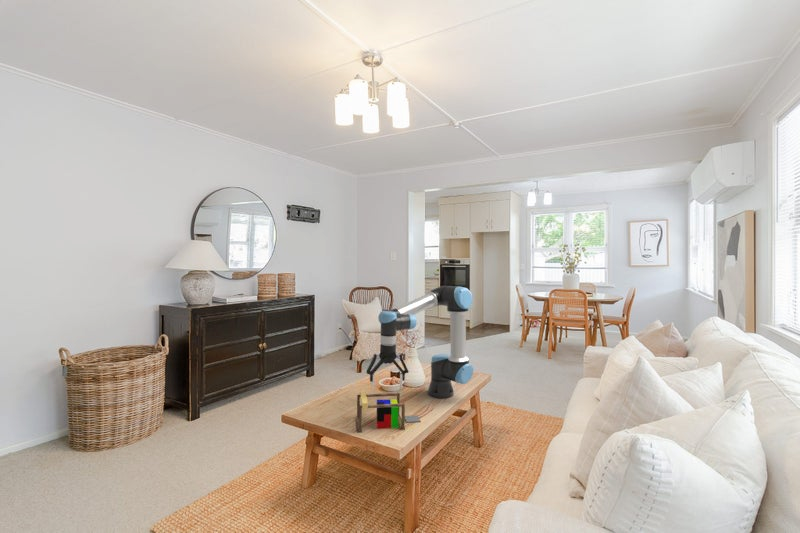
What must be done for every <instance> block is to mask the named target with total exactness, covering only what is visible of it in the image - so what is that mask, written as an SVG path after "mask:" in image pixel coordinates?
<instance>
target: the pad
mask: <svg viewBox="0 0 800 533" xmlns="http://www.w3.org/2000/svg"><path fill="white" fill-rule="evenodd" d="M404 421H405V423H406V424H407V423H408V424H409V423H410V424H411V423H412V424H414V423H421V422H422V421H421V419H420V417H419V415H417V414H414V415H405V417H404Z"/></svg>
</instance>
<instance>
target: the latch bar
mask: <svg viewBox="0 0 800 533" xmlns="http://www.w3.org/2000/svg"><path fill="white" fill-rule="evenodd" d="M366 394H367V393H366V389H363V390H362V389H360V390H359V395H360V396H361V397H360V401H361V402H360V403H361V405H362V411H363V410H368V409H369V408H368V405H369V403H368V397H366Z"/></svg>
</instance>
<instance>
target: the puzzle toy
mask: <svg viewBox="0 0 800 533" xmlns="http://www.w3.org/2000/svg"><path fill="white" fill-rule="evenodd" d="M381 404H398V402H397V398H395V399H393V398H392V399H391V398H389V399H388V398H387V399H376V405H381ZM398 408H399V409H400V407H384V408H376V429H398V428H399V423H398Z"/></svg>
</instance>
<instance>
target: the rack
mask: <svg viewBox="0 0 800 533" xmlns="http://www.w3.org/2000/svg"><path fill="white" fill-rule="evenodd" d="M400 394H401V393H400V392H391V393H390V392H389V393H388V392H387V393H366V397H367V398H377V397H396V399H397V402H398V404H381V405H377V404H368V409H377V408H384V407H399V408H398V427H399V429H400V430H401V431H405V430H406V426H405V418H404V417H405V416H406V415H405V407H406V406H405V403H404V402H400V401H401V400H400ZM356 396H357V397H356V417H355V420H356V427H357V433H363V425H362V423H363V422H362V418H363V416H362V415H363V412H362V411H363V410H362V404H360V403H361V402H360V401H361V396H360V394H357V395H356ZM400 408H401V415H400Z"/></svg>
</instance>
